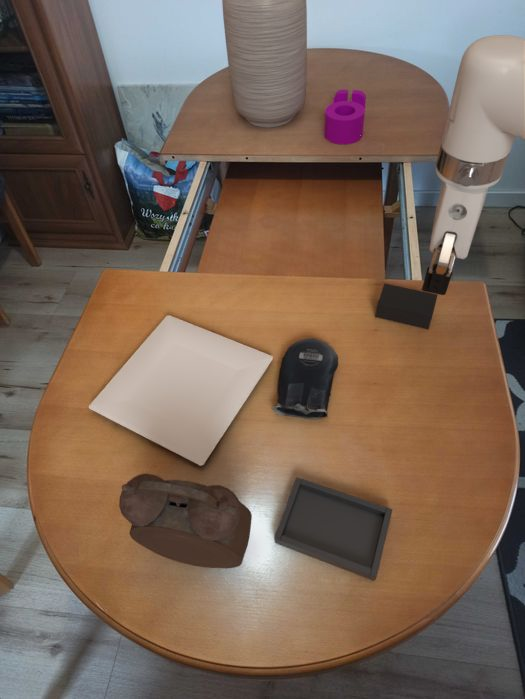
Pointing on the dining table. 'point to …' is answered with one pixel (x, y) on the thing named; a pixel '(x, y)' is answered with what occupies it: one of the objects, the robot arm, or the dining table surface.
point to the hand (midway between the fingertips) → (439, 268)
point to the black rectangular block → (406, 306)
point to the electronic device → (306, 379)
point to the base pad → (334, 527)
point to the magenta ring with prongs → (345, 117)
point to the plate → (182, 387)
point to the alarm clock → (187, 520)
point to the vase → (267, 58)
